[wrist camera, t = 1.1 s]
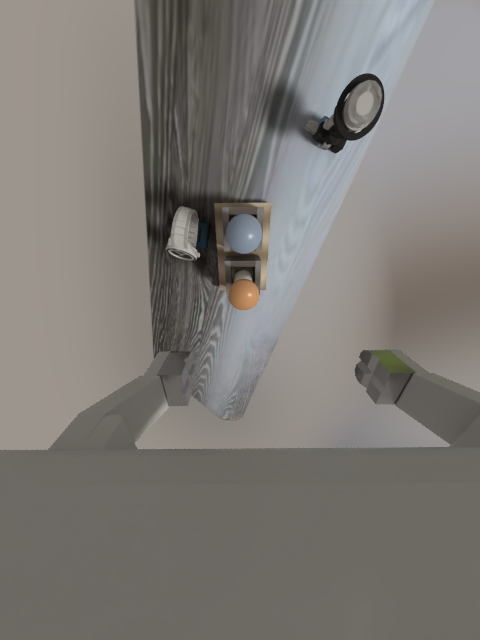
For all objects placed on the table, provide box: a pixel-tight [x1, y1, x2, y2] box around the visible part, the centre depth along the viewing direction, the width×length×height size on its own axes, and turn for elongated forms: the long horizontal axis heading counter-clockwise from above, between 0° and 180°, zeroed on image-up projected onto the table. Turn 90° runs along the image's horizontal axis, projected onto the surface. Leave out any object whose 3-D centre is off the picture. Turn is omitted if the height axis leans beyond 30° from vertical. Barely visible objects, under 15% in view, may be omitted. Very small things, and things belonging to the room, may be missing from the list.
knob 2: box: [229, 269, 259, 310], centre depth 30 cm, size 4×4×9 cm
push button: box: [305, 74, 384, 153], centre depth 25 cm, size 7×5×10 cm
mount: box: [214, 203, 271, 295], centre depth 34 cm, size 16×10×7 cm, turn 0°
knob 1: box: [226, 214, 262, 254], centre depth 26 cm, size 4×4×9 cm
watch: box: [166, 206, 211, 261], centre depth 31 cm, size 6×8×11 cm
